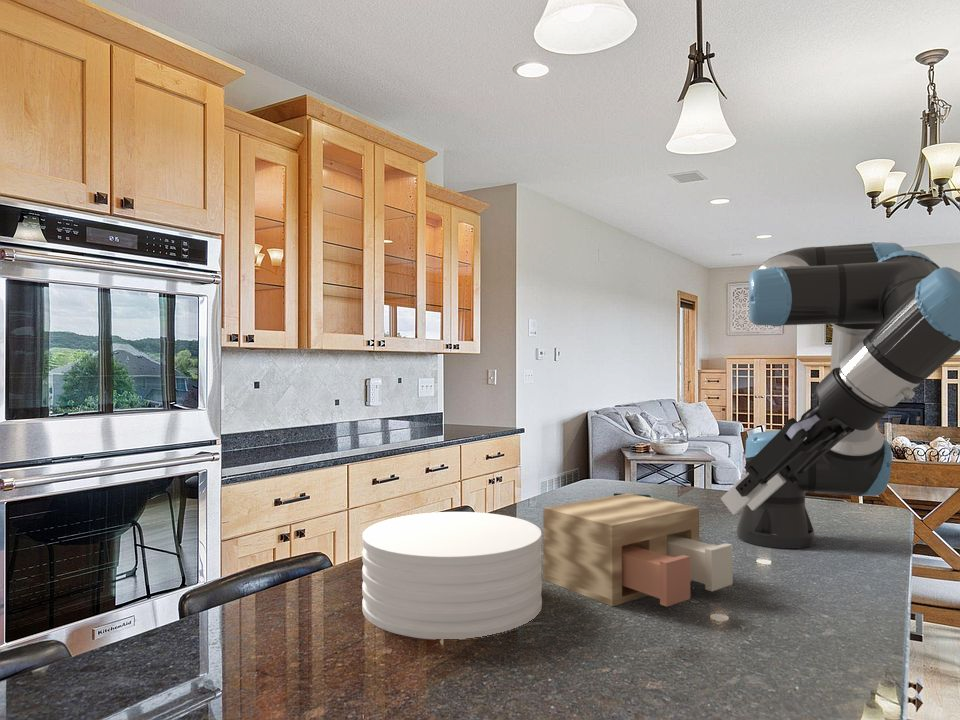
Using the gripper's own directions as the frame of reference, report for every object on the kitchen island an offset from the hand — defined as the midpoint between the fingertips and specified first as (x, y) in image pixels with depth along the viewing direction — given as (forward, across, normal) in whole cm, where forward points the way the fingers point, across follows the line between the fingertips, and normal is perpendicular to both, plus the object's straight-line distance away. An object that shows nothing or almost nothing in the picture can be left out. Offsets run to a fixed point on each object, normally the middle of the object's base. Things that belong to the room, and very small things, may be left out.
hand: (738, 503), depth 91 cm
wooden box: (+31, +6, +6) cm, 32 cm away
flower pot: (+44, +28, +18) cm, 55 cm away
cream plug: (+25, +11, +1) cm, 27 cm away
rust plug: (+25, 0, +1) cm, 25 cm away
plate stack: (+37, -24, +11) cm, 46 cm away
